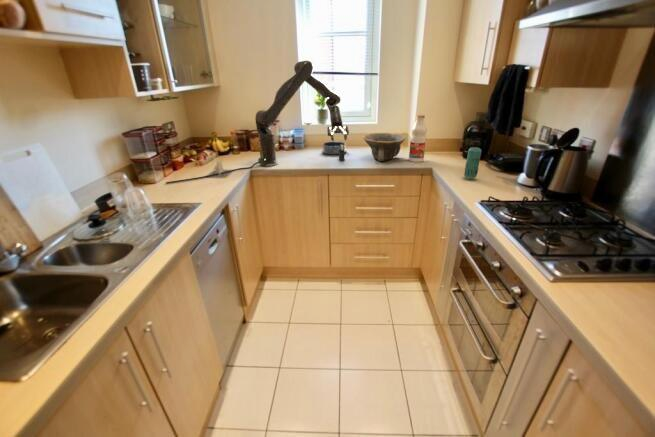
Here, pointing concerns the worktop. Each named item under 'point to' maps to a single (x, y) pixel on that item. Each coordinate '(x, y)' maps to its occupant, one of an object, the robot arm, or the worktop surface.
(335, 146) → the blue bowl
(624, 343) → the worktop surface
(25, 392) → the worktop surface
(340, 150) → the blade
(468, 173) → the beverage bottle
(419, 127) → the fruit juice
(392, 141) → the bowl
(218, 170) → the architectural model
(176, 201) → the worktop surface
